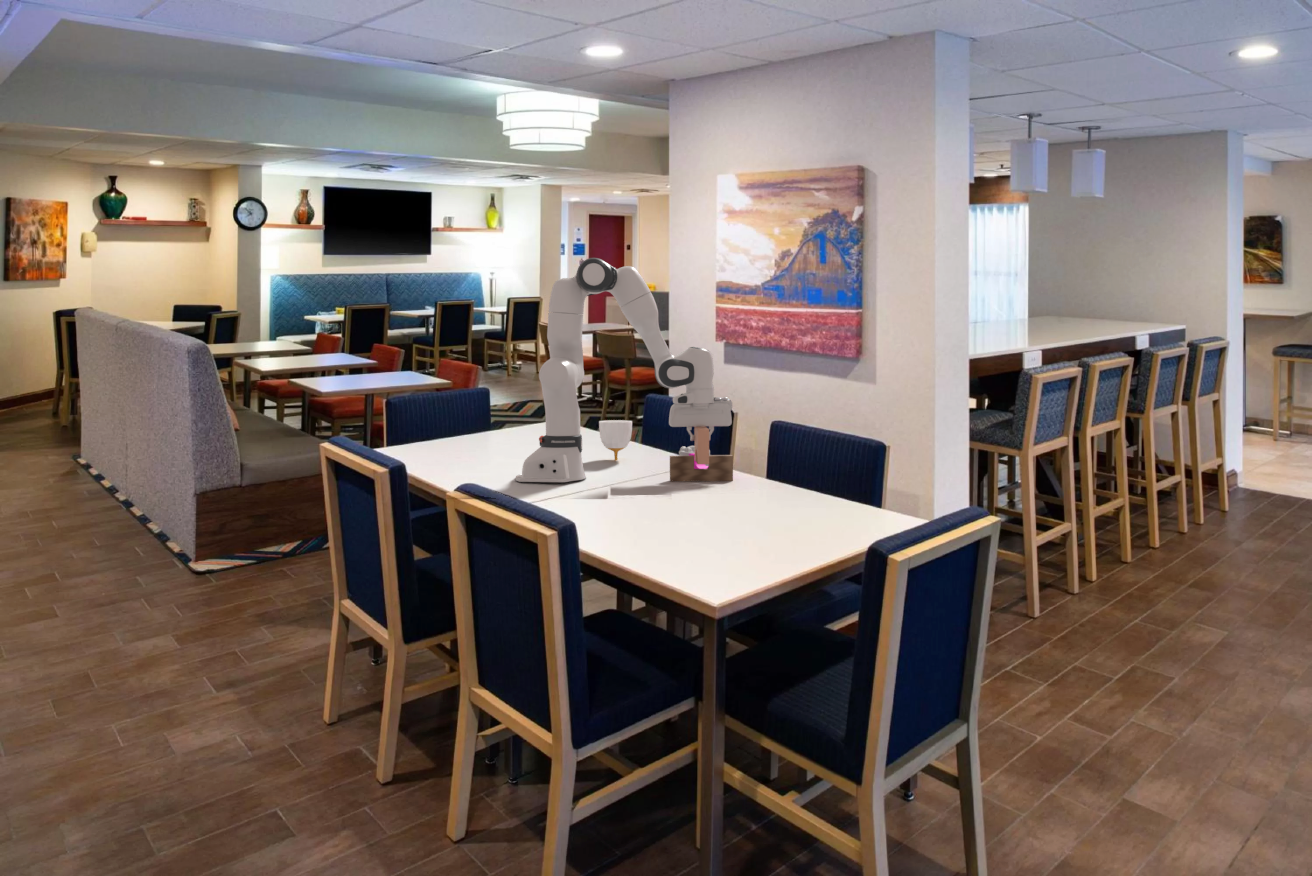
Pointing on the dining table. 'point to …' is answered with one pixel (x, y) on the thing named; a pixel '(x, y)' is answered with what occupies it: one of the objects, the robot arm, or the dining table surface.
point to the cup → (615, 434)
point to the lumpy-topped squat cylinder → (688, 451)
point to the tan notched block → (701, 445)
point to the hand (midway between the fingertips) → (700, 440)
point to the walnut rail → (717, 469)
